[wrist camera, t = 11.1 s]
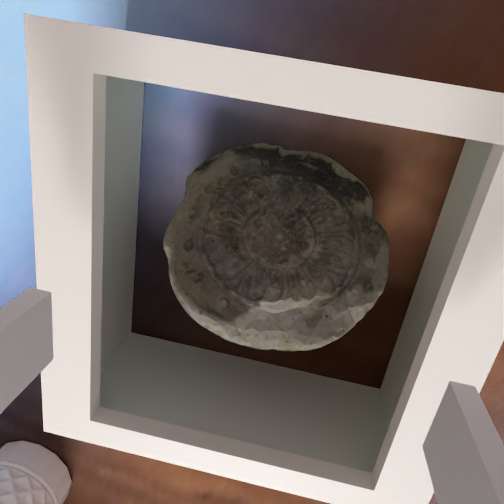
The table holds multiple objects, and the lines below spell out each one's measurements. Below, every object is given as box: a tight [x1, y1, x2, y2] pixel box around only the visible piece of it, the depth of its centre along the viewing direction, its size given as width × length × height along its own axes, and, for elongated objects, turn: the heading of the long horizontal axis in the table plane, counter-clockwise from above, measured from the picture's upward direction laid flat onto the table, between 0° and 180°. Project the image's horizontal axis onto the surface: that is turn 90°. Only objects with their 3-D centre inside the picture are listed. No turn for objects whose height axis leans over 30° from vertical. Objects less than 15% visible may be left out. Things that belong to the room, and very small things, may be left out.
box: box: [24, 14, 504, 504], centre depth 21 cm, size 19×19×8 cm
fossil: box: [163, 143, 390, 351], centre depth 22 cm, size 11×9×10 cm
